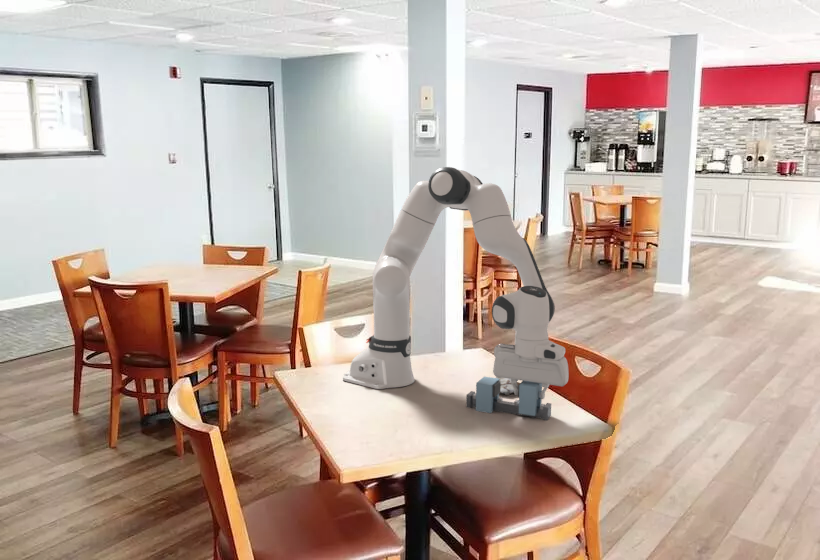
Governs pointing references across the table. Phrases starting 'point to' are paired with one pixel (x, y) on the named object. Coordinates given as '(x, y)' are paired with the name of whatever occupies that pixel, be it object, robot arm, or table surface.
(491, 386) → the light blue rectangular block
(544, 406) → the rail
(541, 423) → the table surface
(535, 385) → the light blue block
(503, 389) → the stone
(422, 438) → the table surface
